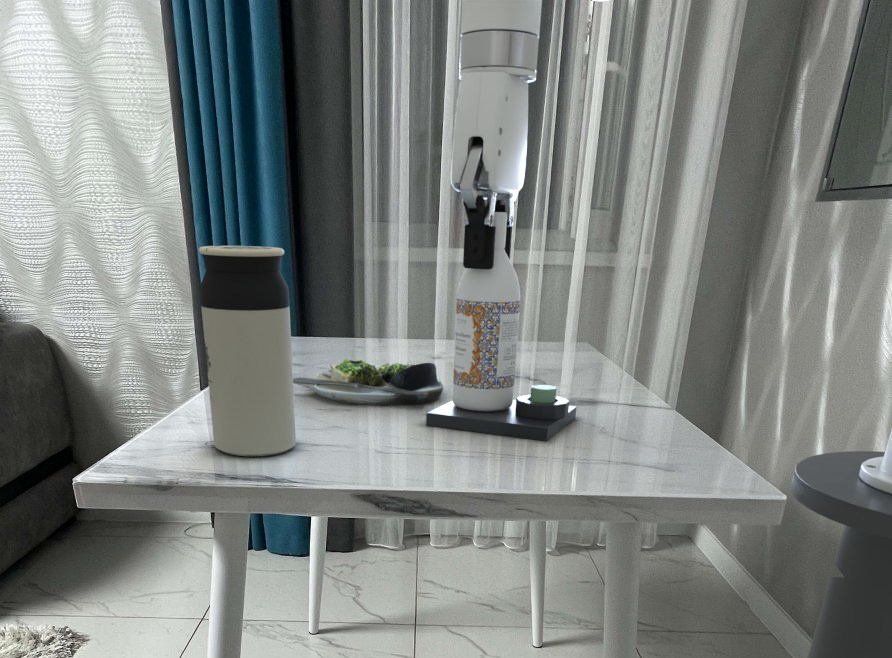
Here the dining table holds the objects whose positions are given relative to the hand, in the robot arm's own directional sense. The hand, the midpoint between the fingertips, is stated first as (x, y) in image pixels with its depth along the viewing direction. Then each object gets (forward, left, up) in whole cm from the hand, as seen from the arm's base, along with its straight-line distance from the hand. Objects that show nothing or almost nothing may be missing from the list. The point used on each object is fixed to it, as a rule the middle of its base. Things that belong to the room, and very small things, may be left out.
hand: (486, 265), depth 87 cm
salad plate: (+16, -7, -17) cm, 24 cm away
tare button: (-8, 0, -14) cm, 16 cm away
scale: (-3, 0, -16) cm, 17 cm away
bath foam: (0, 0, -15) cm, 15 cm away
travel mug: (+15, +23, -17) cm, 32 cm away
